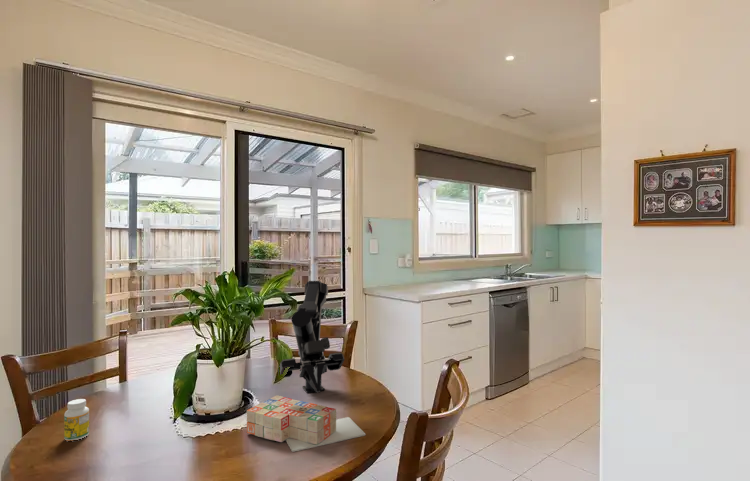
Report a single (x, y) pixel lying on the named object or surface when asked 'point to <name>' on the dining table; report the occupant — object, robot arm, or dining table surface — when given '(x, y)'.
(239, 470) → the dining table surface
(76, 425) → the supplement bottle
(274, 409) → the stack of blocks
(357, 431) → the rubber mat
